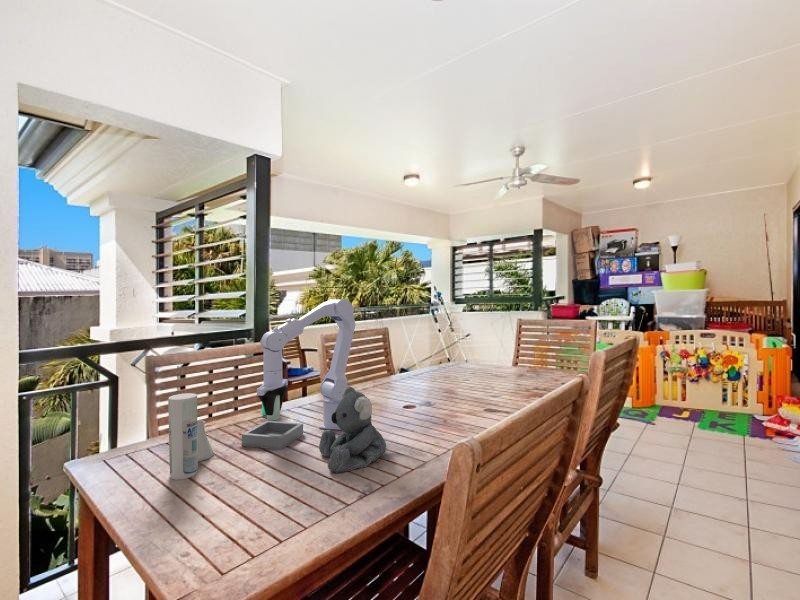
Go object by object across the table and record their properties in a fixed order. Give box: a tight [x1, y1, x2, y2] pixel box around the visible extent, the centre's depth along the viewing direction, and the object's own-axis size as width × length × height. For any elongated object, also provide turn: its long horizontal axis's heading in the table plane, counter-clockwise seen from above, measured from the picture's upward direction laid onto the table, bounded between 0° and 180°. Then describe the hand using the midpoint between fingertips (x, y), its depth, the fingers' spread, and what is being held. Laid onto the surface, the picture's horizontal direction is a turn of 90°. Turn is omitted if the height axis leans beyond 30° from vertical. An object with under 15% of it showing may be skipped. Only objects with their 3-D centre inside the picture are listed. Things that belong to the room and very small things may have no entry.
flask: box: [197, 420, 215, 462], centre depth 114 cm, size 7×7×10 cm
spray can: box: [167, 392, 199, 481], centre depth 103 cm, size 6×6×20 cm
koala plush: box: [318, 384, 387, 473], centre depth 112 cm, size 17×18×20 cm
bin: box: [241, 420, 304, 451], centre depth 127 cm, size 13×13×4 cm
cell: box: [266, 395, 281, 421], centre depth 127 cm, size 4×4×8 cm
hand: (273, 412), depth 127 cm, fingers closed on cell, 4 cm apart
